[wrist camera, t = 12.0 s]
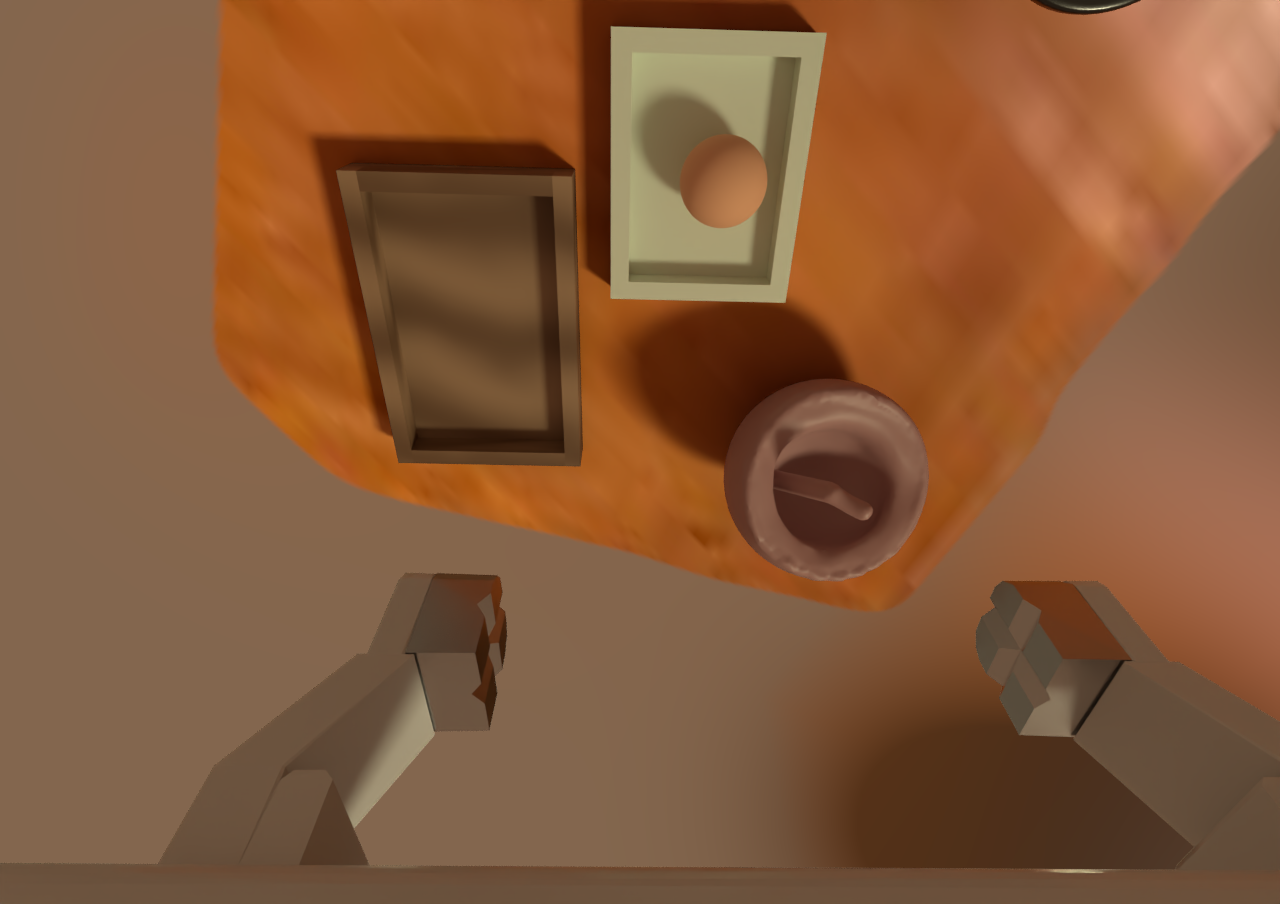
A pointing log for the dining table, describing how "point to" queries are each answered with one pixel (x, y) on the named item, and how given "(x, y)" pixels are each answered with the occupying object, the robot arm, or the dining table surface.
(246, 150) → the dining table surface
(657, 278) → the tray
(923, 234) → the dining table surface
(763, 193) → the ball
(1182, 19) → the dining table surface
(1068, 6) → the drinking cup
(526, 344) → the dish
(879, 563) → the mortar and pestle
